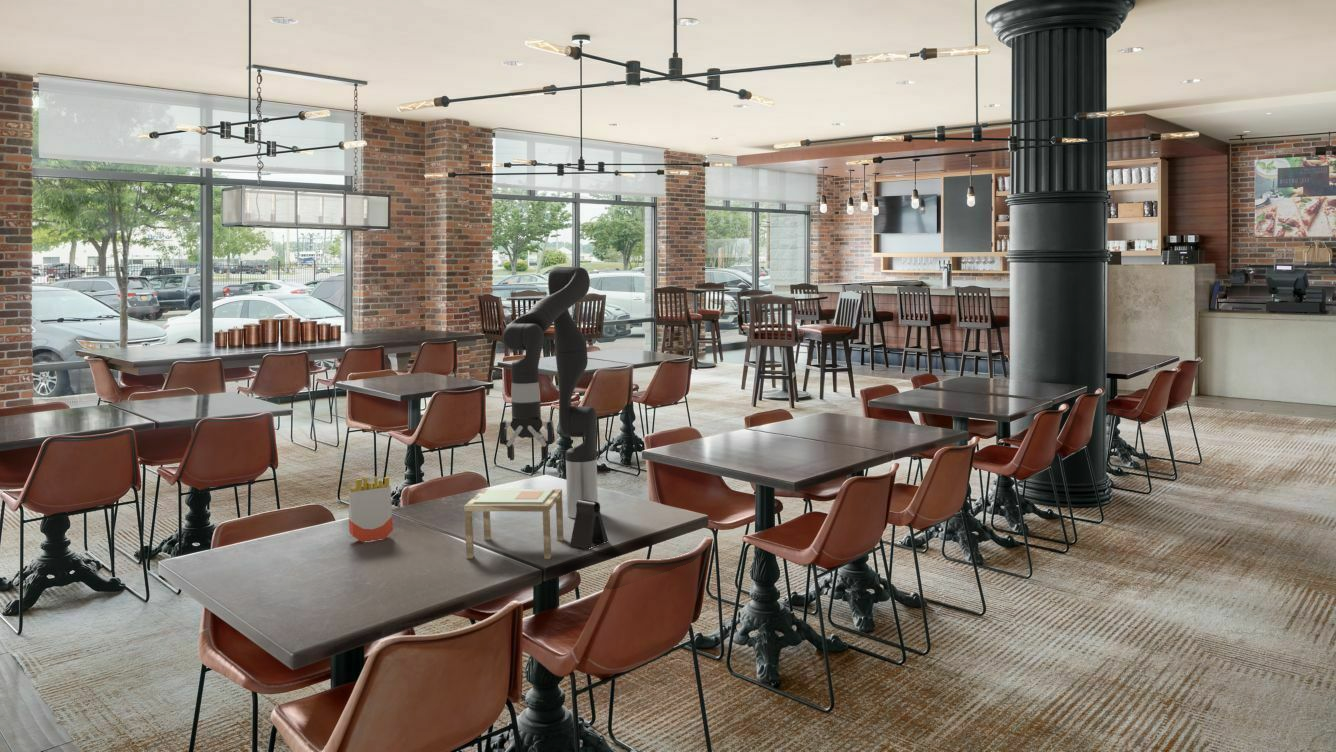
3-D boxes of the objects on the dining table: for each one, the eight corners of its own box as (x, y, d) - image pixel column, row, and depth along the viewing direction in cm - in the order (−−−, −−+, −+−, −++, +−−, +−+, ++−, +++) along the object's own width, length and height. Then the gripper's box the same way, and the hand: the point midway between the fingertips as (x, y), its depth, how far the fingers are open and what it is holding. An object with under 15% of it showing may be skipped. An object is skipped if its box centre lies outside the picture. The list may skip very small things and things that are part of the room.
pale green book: (489, 495, 259) (488, 488, 259) (553, 495, 258) (553, 488, 257) (474, 509, 245) (473, 501, 245) (542, 509, 243) (541, 501, 243)
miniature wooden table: (485, 538, 263) (483, 489, 261) (563, 538, 261) (562, 489, 259) (466, 558, 245) (464, 505, 243) (550, 558, 243) (548, 505, 241)
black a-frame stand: (586, 550, 250) (585, 506, 248) (569, 546, 253) (568, 503, 252) (608, 542, 257) (607, 499, 256) (591, 538, 260) (590, 496, 259)
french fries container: (349, 541, 263) (346, 477, 260) (389, 534, 268) (385, 472, 266) (353, 545, 259) (349, 480, 257) (393, 538, 264) (390, 475, 262)
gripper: (495, 401, 245) (497, 462, 246) (549, 401, 243) (551, 462, 245) (502, 397, 252) (505, 457, 254) (555, 397, 251) (557, 457, 253)
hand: (528, 459), depth 250 cm, fingers open, 8 cm apart
